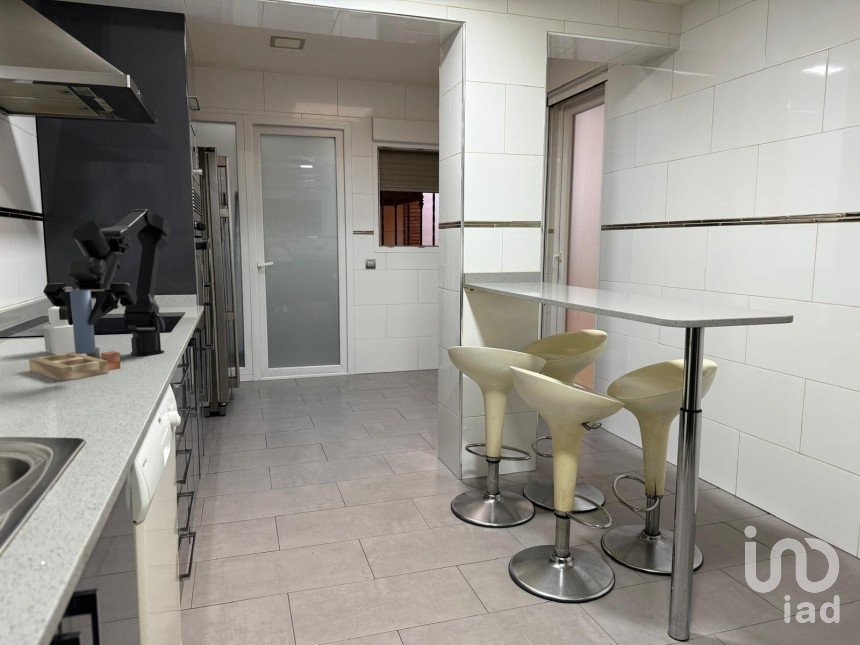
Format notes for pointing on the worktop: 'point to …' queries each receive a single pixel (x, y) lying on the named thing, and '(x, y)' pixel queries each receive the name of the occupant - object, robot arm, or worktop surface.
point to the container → (58, 332)
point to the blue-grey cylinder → (82, 321)
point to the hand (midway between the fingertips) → (79, 324)
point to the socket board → (75, 364)
